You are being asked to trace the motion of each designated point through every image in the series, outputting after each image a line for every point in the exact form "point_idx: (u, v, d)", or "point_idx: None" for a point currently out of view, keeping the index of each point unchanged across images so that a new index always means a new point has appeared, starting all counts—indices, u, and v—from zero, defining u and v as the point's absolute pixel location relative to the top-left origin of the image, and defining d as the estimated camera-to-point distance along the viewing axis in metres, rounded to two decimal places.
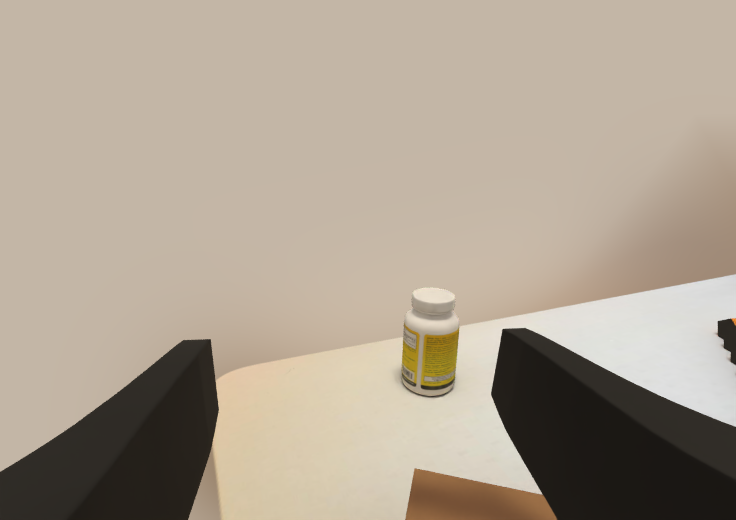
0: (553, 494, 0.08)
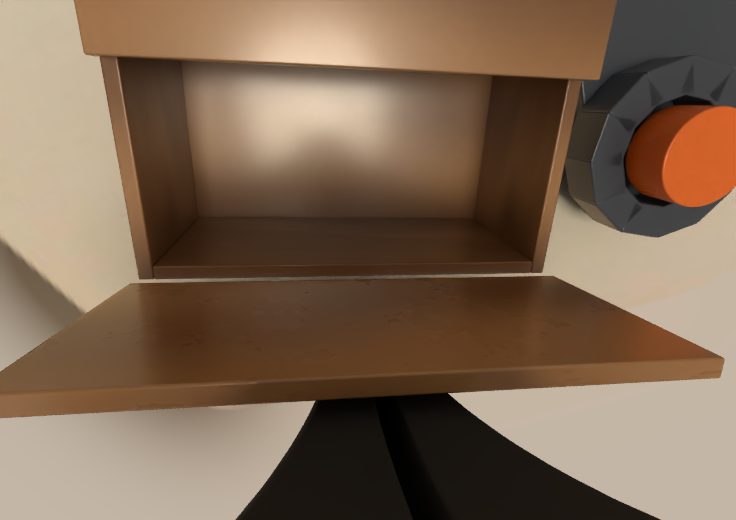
0: None
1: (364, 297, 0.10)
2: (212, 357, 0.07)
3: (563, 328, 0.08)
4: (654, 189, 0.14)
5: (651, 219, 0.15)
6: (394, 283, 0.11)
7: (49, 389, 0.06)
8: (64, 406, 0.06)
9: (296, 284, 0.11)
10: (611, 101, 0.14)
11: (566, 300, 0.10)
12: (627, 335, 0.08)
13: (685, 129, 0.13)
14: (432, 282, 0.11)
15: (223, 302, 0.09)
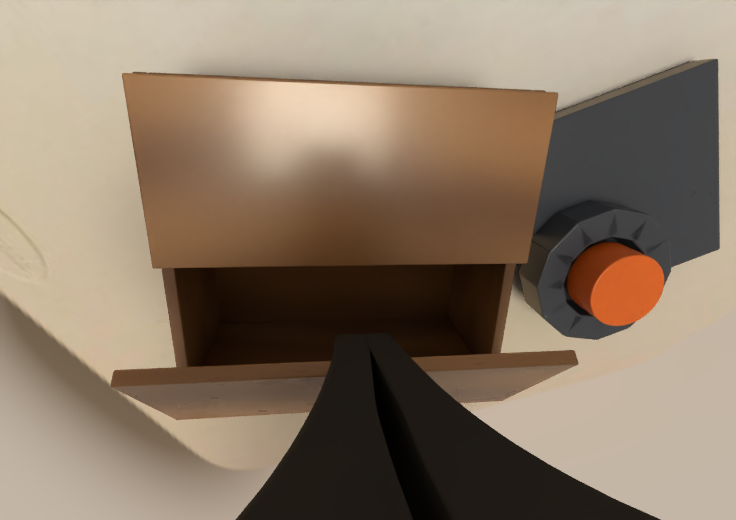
0: None
1: None
2: None
3: None
4: (587, 310, 0.18)
5: (590, 326, 0.19)
6: None
7: (159, 369, 0.10)
8: (166, 378, 0.10)
9: None
10: (552, 240, 0.17)
11: None
12: None
13: (606, 272, 0.16)
14: None
15: None
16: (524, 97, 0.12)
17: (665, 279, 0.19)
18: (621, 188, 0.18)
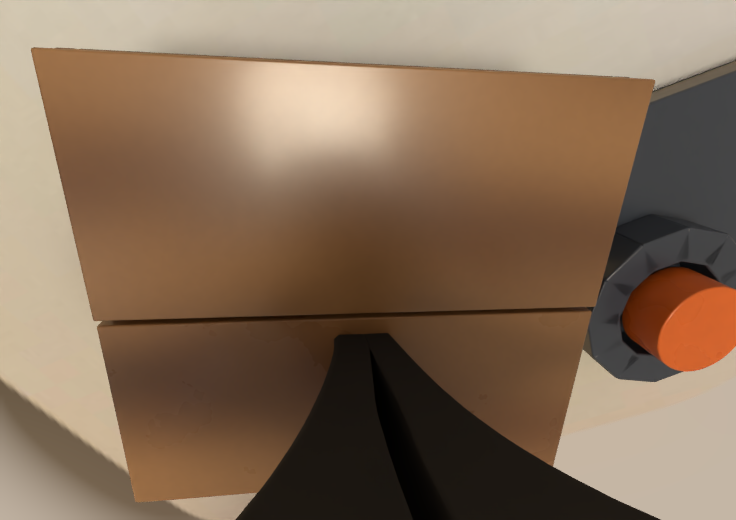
0: None
1: None
2: None
3: None
4: (650, 351, 0.14)
5: (647, 367, 0.16)
6: None
7: None
8: (157, 321, 0.09)
9: None
10: (608, 266, 0.14)
11: None
12: None
13: (680, 308, 0.13)
14: None
15: None
16: (608, 86, 0.08)
17: None
18: (688, 200, 0.15)
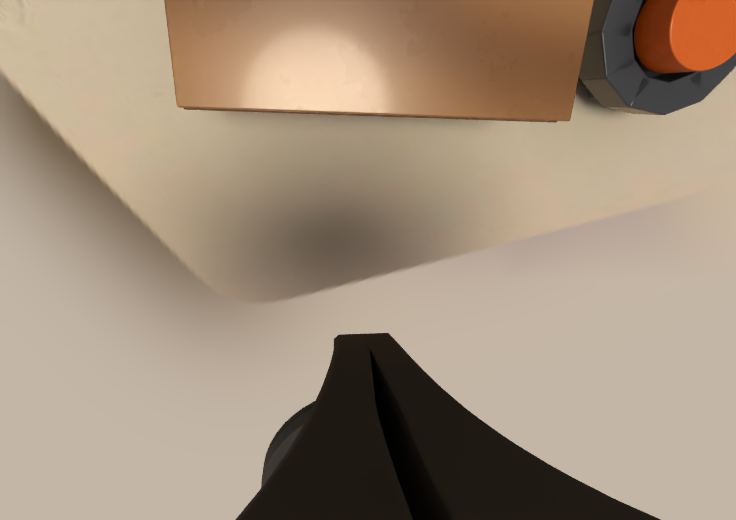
0: None
1: None
2: None
3: None
4: (661, 55, 0.15)
5: (658, 95, 0.16)
6: None
7: None
8: None
9: None
10: None
11: None
12: None
13: None
14: (450, 98, 0.13)
15: None
16: None
17: None
18: None
